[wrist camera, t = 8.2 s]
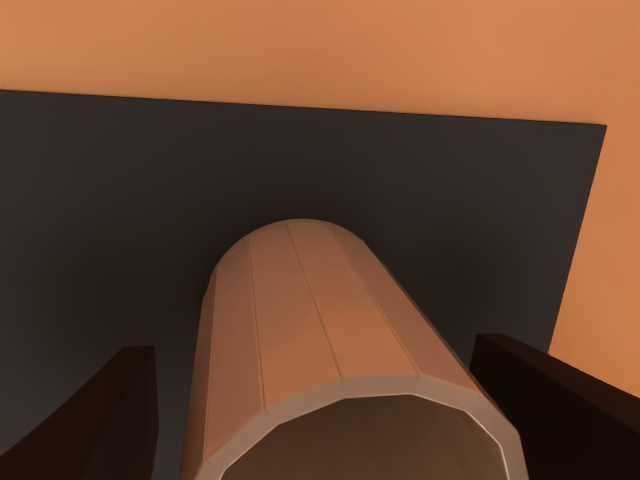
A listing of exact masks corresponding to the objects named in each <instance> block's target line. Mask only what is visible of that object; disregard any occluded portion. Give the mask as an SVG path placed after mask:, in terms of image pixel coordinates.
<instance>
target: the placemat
mask: <svg viewBox="0 0 640 480" xmlns="http://www.w3.org/2000/svg"><path fill="white" fill-rule="evenodd" d="M606 129H607V126H606V125H601V124H585V123H568V122H550V121H533V120H515V119H498V118H481V117H463V116H446V115H428V114H411V113H394V112H376V111H359V110H341V109H324V108H307V107H289V106H272V105H254V104H237V103H220V102H202V101H185V100H167V99H150V98H132V97H115V96H98V95H80V94H63V93H45V92H28V91H11V90H0V456H1V455H2V454H4V453H5V452H6V451H7V450H9V449H10V448H11V447H13V446H14V445H15V444H16V443H18V442H19V441H20V440H21V439H22V438H24V437H25V436H26V435H27V434H28V433H30V432H31V431H32V430H33V429H34V428H35V427H37V426H38V425H39V424H40V423H41V422H43V421H44V420H45V419H46V418H47V417H49V416H50V415H51V414H52V413H53V412H54V411H56V410H57V409H58V408H59V407H60V406H61V405H62V404H63V403H64V402H65V401H66V400H68V399H69V398H70V397H71V396H72V395H73V394H74V393H75V392H76V391H77V390H78V389H80V388H81V387H82V386H83V385H84V384H85V383H86V382H87V381H88V380H89V379H90V378H91V377H92V376H93V375H94V374H95V373H96V372H97V371H98V370H99V369H100V368H101V367H102V366H103V365H104V364H105V363H106V362H108V361H109V360H110V359H111V358H112V357H113V356H114V355H115V354H116V353H117V352H118V351H119V350H120V349H121V348H122V347H125V346H153V345H155V360H156V377H157V395H158V412H159V433H158V440H157V447H156V454H155V460H154V467H153V473H152V477H151V480H179V475H180V468H181V460H182V452H183V445H184V437H185V429H186V422H187V414H188V406H189V399H190V391H191V383H192V376H193V368H194V361H195V353H196V345H197V338H198V330H199V322H200V315H201V307H202V301H203V297H204V295H205V292H206V287H207V284H208V282H209V279H210V276H211V274H212V272H213V270H214V269H215V267H216V265H217V264H218V262H219V261H220V259H221V258H222V257H223V255H224V254H225V253H226V252H227V251H228V250H229V249H230V248H231V247H232V246H233V245H234V244H235V243H237V242H238V241H239V240H240V239H242V238H243V237H245V236H246V235H248V234H249V233H251V232H253V231H254V230H257V229H259V228H261V227H263V226H266V225H269V224H272V223H275V222H278V221H284V220H290V219H316V220H321V221H326V222H330V223H333V224H336V225H339V226H341V227H343V228H345V229H347V230H349V231H351V232H352V233H354V234H355V235H357V236H358V237H359V238H361V239H362V240H363V241H364V242H365V243H366V244H367V245H368V246H369V247H370V248H371V250H372V251H373V252H374V253H375V254H376V255H377V256H378V258H379V259H380V260H381V261H382V262H383V263H384V264H385V265H386V267H387V268H388V269H389V270H390V272H391V273H392V274H393V275H394V277H395V278H396V279H397V280H398V282H399V283H400V284H401V285H402V287H403V288H404V289H405V290H406V292H407V293H408V294H409V295H410V297H411V298H412V299H413V300H414V302H415V303H416V304H417V305H418V307H419V308H420V309H421V310H422V312H423V313H424V314H425V315H426V317H427V318H428V319H429V320H430V322H431V323H432V324H433V326H434V327H435V328H436V329H437V331H438V332H439V333H440V334H441V336H442V337H443V338H444V339H445V341H446V342H447V343H448V344H449V346H450V347H451V348H452V349H453V351H454V352H455V353H456V354H457V356H458V357H459V358H460V359H461V361H462V362H463V363H464V364H465V366H466V367H467V368H468V369H469V368H470V363H471V358H472V353H473V348H474V342H475V337H476V334H486V333H501V334H504V335H507V336H509V337H512V338H514V339H517V340H519V341H521V342H523V343H525V344H528V345H530V346H532V347H534V348H536V349H538V350H540V351H542V352H544V353H546V354H548V351H549V347H550V343H551V339H552V336H553V332H554V328H555V324H556V320H557V316H558V313H559V309H560V305H561V301H562V297H563V293H564V290H565V286H566V282H567V278H568V274H569V270H570V267H571V263H572V259H573V255H574V251H575V248H576V244H577V240H578V236H579V232H580V228H581V225H582V221H583V217H584V213H585V209H586V205H587V202H588V198H589V194H590V190H591V186H592V183H593V179H594V175H595V171H596V167H597V163H598V160H599V156H600V152H601V148H602V144H603V140H604V137H605V133H606Z"/></svg>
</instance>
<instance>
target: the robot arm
mask: <svg viewBox="0 0 640 480" xmlns="http://www.w3.org/2000/svg"><path fill="white" fill-rule="evenodd" d="M469 371H470V372H471V373H472V374H473V376H474V377H475V378H476V379H477V381H478V382H479V383H480V384H481V386H482V387H483V388H484V389H485V391H486V392H487V393H488V394H489V396H490V397H491V398H492V399H493V401H494V402H495V403H496V404H497V406H498V407H499V408H500V409H501V411H502V412H503V413H504V414H505V416H506V417H507V418H508V419H509V421H510V422H511V423H512V424H513V426H514V427H515V428H516V430H517V431H518V433H519V436H520V440H521V445H522V449H523V454H524V459H525V463H526V468H527V472H528V477H529V480H640V398H638V397H636V396H633V395H631V394H629V393H627V392H625V391H622V390H620V389H618V388H616V387H614V386H611V385H609V384H607V383H605V382H603V381H601V380H599V379H597V378H595V377H593V376H591V375H589V374H586V373H584V372H582V371H580V370H578V369H576V368H574V367H572V366H570V365H568V364H566V363H564V362H562V361H560V360H558V359H556V358H554V357H552V356H550V355H548V354H546V353H544V352H542V351H540V350H538V349H536V348H534V347H532V346H530V345H528V344H525V343H523V342H521V341H519V340H517V339H514V338H512V337H509V336H507V335H504V334H501V333H486V334H476V337H475V342H474V348H473V353H472V358H471V363H470V368H469ZM158 433H159V412H158V395H157V377H156V360H155V345H153V346H125V347H122V348H121V349H120V350H119V351H118V352H117V353H116V354H115V355H114V356H113V357H112V358H111V359H110V360H109V361H108V362H106V363H105V364H104V365H103V366H102V367H101V368H100V369H99V370H98V371H97V372H96V373H95V374H94V375H93V376H92V377H91V378H90V379H89V380H88V381H87V382H86V383H85V384H84V385H83V386H82V387H81V388H80V389H78V390H77V391H76V392H75V393H74V394H73V395H72V396H71V397H70V398H69V399H68V400H66V401H65V402H64V403H63V404H62V405H61V406H60V407H59V408H58V409H57V410H56V411H54V412H53V413H52V414H51V415H50V416H49V417H47V418H46V419H45V420H44V421H43V422H41V423H40V424H39V425H38V426H37V427H35V428H34V429H33V430H32V431H31V432H30V433H28V434H27V435H26V436H25V437H24V438H22V439H21V440H20V441H19V442H18V443H16V444H15V445H14V446H13V447H11V448H10V449H9V450H7V451H6V452H5V453H4V454H2V455H1V456H0V480H151V477H152V473H153V467H154V460H155V454H156V447H157V440H158Z"/></svg>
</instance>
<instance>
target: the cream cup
mask: <svg viewBox="0 0 640 480" xmlns="http://www.w3.org/2000/svg"><path fill="white" fill-rule="evenodd" d="M179 480H529V477H528V472H527V468H526V463H525V459H524V454H523V449H522V445H521V440H520V436H519V433H518V431H517V430H516V428H515V427H514V426H513V424H512V423H511V422H510V421H509V419H508V418H507V417H506V416H505V414H504V413H503V412H502V411H501V409H500V408H499V407H498V406H497V404H496V403H495V402H494V401H493V399H492V398H491V397H490V396H489V394H488V393H487V392H486V391H485V389H484V388H483V387H482V386H481V384H480V383H479V382H478V381H477V379H476V378H475V377H474V376H473V374H472V373H471V372H470V371H469V369H468V368H467V367H466V366H465V364H464V363H463V362H462V361H461V359H460V358H459V357H458V356H457V354H456V353H455V352H454V351H453V349H452V348H451V347H450V346H449V344H448V343H447V342H446V341H445V339H444V338H443V337H442V336H441V334H440V333H439V332H438V331H437V329H436V328H435V327H434V326H433V324H432V323H431V322H430V320H429V319H428V318H427V317H426V315H425V314H424V313H423V312H422V310H421V309H420V308H419V307H418V305H417V304H416V303H415V302H414V300H413V299H412V298H411V297H410V295H409V294H408V293H407V292H406V290H405V289H404V288H403V287H402V285H401V284H400V283H399V282H398V280H397V279H396V278H395V277H394V275H393V274H392V273H391V272H390V270H389V269H388V268H387V267H386V265H385V264H384V263H383V262H382V261H381V260H380V259H379V258H378V256H377V255H376V254H375V253H374V252H373V251H372V250H371V248H370V247H369V246H368V245H367V244H366V243H365V242H364V241H363V240H362V239H361V238H359V237H358V236H357V235H355V234H354V233H352V232H351V231H349V230H347V229H345V228H343V227H341V226H339V225H336V224H333V223H330V222H326V221H321V220H316V219H290V220H284V221H278V222H275V223H272V224H269V225H266V226H263V227H261V228H259V229H257V230H254V231H253V232H251V233H249V234H248V235H246V236H245V237H243V238H242V239H240V240H239V241H238V242H237V243H235V244H234V245H233V246H232V247H231V248H230V249H229V250H228V251H227V252H226V253H225V254H224V255H223V257H222V258H221V259H220V261H219V262H218V264H217V265H216V267H215V269H214V270H213V272H212V274H211V276H210V279H209V282H208V284H207V287H206V292H205V295H204V297H203V301H202V307H201V315H200V322H199V330H198V338H197V345H196V353H195V361H194V368H193V376H192V383H191V391H190V399H189V406H188V414H187V422H186V429H185V437H184V445H183V452H182V460H181V468H180V475H179Z"/></svg>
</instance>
